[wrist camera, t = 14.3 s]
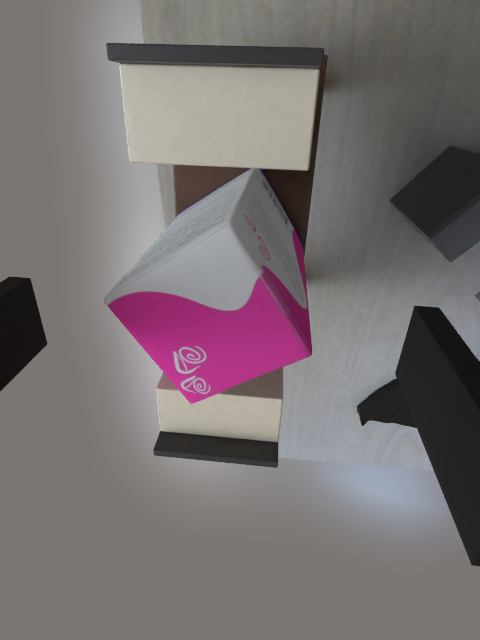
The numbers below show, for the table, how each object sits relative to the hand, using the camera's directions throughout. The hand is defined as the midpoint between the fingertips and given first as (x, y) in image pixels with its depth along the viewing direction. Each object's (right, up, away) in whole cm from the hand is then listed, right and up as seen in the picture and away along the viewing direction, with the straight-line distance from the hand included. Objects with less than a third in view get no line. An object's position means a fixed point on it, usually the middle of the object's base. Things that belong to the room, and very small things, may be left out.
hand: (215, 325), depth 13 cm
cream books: (+1, +6, +10) cm, 12 cm away
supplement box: (+1, +6, +10) cm, 12 cm away
